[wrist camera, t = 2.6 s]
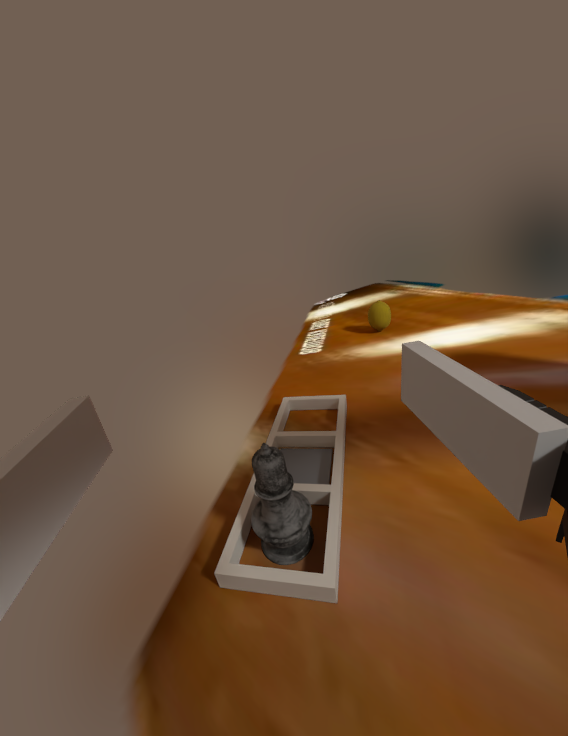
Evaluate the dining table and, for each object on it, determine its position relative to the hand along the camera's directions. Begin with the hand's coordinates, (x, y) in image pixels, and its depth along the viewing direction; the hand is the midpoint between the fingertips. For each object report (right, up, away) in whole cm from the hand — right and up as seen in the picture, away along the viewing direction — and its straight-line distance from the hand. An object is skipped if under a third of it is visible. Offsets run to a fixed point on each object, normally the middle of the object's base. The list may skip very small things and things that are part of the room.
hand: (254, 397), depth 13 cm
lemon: (+26, +10, +65) cm, 71 cm away
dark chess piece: (+2, -16, +18) cm, 24 cm away
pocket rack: (+4, -12, +26) cm, 28 cm away
